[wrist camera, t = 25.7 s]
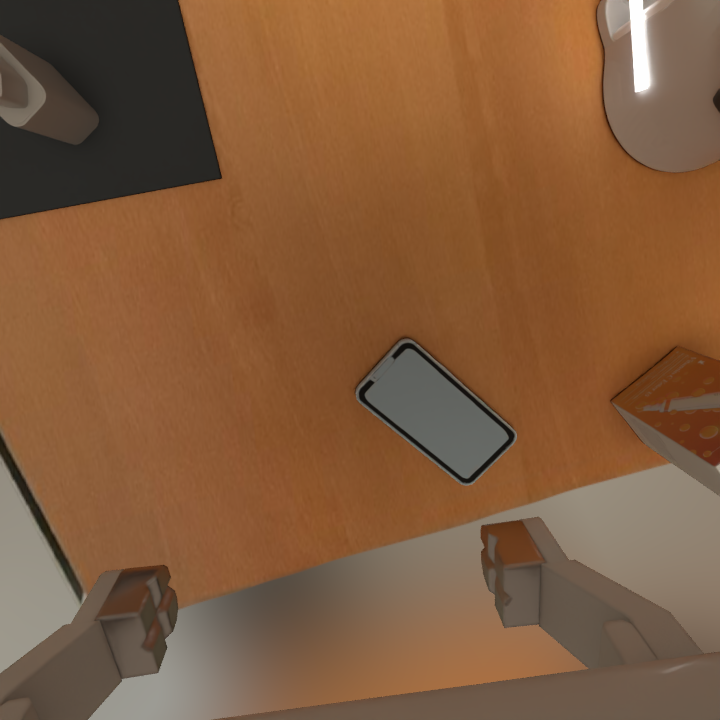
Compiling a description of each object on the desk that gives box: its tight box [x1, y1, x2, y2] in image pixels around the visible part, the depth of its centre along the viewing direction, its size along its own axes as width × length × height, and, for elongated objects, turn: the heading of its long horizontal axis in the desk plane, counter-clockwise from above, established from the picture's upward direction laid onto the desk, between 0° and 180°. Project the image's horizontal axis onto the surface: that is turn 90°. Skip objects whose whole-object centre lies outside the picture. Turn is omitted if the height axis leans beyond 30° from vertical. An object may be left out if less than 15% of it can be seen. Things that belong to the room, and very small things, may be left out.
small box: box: [611, 347, 720, 496], centre depth 40 cm, size 8×6×13 cm
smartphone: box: [355, 339, 517, 485], centre depth 44 cm, size 7×1×15 cm
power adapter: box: [0, 35, 99, 145], centre depth 29 cm, size 3×5×12 cm, turn 41°
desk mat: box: [0, 0, 222, 219], centre depth 35 cm, size 20×14×1 cm
